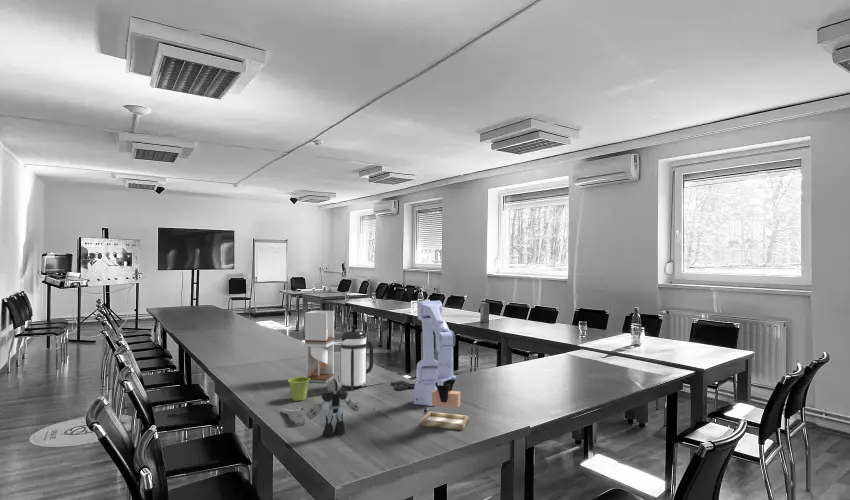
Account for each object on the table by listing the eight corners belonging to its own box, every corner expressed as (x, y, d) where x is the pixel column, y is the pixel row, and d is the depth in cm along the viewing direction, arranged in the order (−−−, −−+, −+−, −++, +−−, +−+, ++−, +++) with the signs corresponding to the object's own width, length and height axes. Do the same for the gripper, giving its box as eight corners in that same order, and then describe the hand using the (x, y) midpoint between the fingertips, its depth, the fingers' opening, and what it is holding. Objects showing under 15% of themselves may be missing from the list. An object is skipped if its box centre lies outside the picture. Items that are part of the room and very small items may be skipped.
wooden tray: (420, 425, 171) (420, 419, 171) (429, 416, 181) (429, 411, 181) (462, 430, 166) (462, 424, 166) (469, 421, 175) (469, 415, 176)
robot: (308, 441, 156) (308, 381, 156) (304, 437, 160) (304, 378, 160) (362, 431, 165) (362, 374, 166) (357, 427, 170) (357, 372, 170)
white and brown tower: (304, 381, 235) (305, 312, 236) (313, 376, 245) (313, 310, 246) (326, 382, 233) (326, 313, 234) (333, 377, 243) (334, 310, 244)
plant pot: (283, 401, 202) (283, 381, 202) (297, 395, 211) (297, 376, 211) (301, 403, 198) (301, 383, 199) (314, 397, 207) (314, 378, 207)
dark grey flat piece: (451, 389, 224) (451, 382, 225) (406, 394, 212) (406, 386, 212) (429, 382, 242) (430, 375, 242) (386, 385, 229) (387, 378, 229)
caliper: (304, 425, 172) (305, 408, 172) (302, 426, 171) (302, 408, 172) (283, 411, 188) (283, 395, 188) (280, 412, 188) (280, 396, 188)
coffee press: (368, 390, 218) (368, 326, 219) (335, 390, 218) (335, 326, 219) (373, 381, 235) (373, 322, 236) (342, 381, 236) (342, 322, 236)
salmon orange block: (431, 405, 173) (431, 392, 174) (435, 402, 177) (435, 389, 177) (457, 408, 170) (457, 394, 170) (460, 404, 174) (460, 391, 174)
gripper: (450, 368, 166) (450, 406, 166) (460, 360, 180) (460, 396, 179) (431, 367, 168) (431, 405, 168) (443, 359, 182) (443, 394, 182)
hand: (445, 400), depth 174 cm, fingers closed on salmon orange block, 4 cm apart
